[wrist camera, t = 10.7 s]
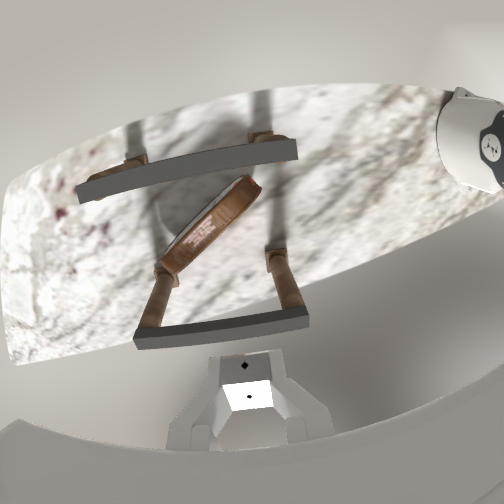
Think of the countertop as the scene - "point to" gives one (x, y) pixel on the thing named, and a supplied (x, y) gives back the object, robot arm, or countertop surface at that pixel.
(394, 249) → the countertop surface
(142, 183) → the grey bar
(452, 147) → the robot arm
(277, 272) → the wooden stanchion pair
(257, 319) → the dark grey beam
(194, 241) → the tin
